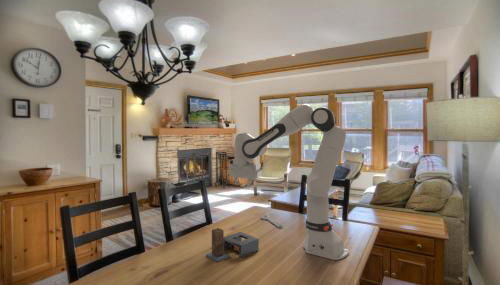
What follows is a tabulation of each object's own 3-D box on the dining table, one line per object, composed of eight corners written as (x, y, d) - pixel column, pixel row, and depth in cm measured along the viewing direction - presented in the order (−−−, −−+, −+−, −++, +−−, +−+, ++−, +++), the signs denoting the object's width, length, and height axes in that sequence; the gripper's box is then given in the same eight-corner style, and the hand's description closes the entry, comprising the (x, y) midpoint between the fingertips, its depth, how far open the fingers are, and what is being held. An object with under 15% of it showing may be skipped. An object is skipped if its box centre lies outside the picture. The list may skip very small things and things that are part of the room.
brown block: (223, 254, 136) (223, 230, 136) (217, 257, 133) (216, 232, 133) (218, 252, 139) (218, 228, 139) (211, 254, 136) (211, 230, 136)
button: (247, 249, 144) (247, 244, 144) (240, 252, 141) (240, 247, 140) (240, 246, 147) (240, 241, 147) (233, 249, 144) (233, 244, 144)
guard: (258, 250, 143) (258, 238, 143) (241, 258, 135) (241, 245, 135) (240, 242, 153) (239, 231, 153) (222, 249, 145) (222, 237, 145)
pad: (229, 257, 136) (229, 255, 136) (217, 262, 131) (217, 259, 131) (217, 251, 142) (217, 249, 142) (206, 255, 137) (206, 253, 137)
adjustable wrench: (283, 229, 176) (283, 226, 176) (274, 230, 174) (274, 227, 174) (268, 217, 200) (268, 214, 200) (259, 218, 198) (259, 215, 197)
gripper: (259, 162, 157) (259, 187, 157) (234, 159, 171) (235, 182, 172) (251, 163, 152) (251, 189, 153) (226, 160, 167) (227, 184, 168)
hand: (242, 185), depth 163 cm, fingers open, 8 cm apart
